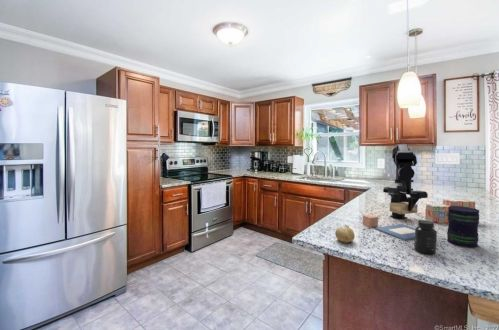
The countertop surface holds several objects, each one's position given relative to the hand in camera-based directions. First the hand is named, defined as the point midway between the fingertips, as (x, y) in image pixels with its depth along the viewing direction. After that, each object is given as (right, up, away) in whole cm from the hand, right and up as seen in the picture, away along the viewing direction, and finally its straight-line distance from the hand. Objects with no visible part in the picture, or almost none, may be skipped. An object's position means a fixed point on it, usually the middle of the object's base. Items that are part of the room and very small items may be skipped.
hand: (403, 209), depth 112 cm
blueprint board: (0, -11, +1) cm, 11 cm away
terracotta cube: (-10, -11, +12) cm, 19 cm away
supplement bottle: (-6, -13, -21) cm, 25 cm away
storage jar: (+16, -12, -13) cm, 24 cm away
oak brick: (0, -1, 0) cm, 1 cm away
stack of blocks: (+37, -10, +17) cm, 42 cm away
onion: (-32, -12, -10) cm, 36 cm away
